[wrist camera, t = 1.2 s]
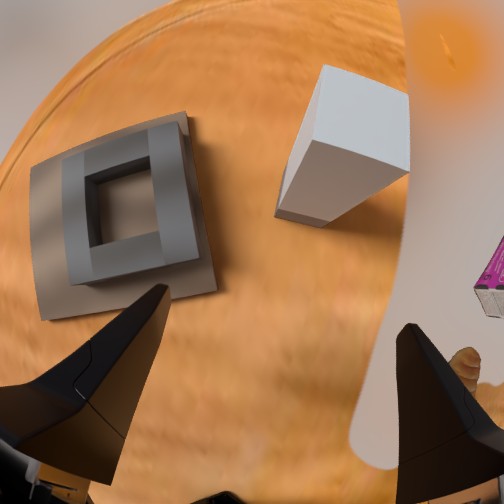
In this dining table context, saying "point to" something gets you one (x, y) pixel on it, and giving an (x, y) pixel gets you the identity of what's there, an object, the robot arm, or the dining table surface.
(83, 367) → the robot arm
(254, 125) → the dining table surface
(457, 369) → the pastry
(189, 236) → the grey square socket base
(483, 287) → the candy bar box
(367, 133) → the white block
